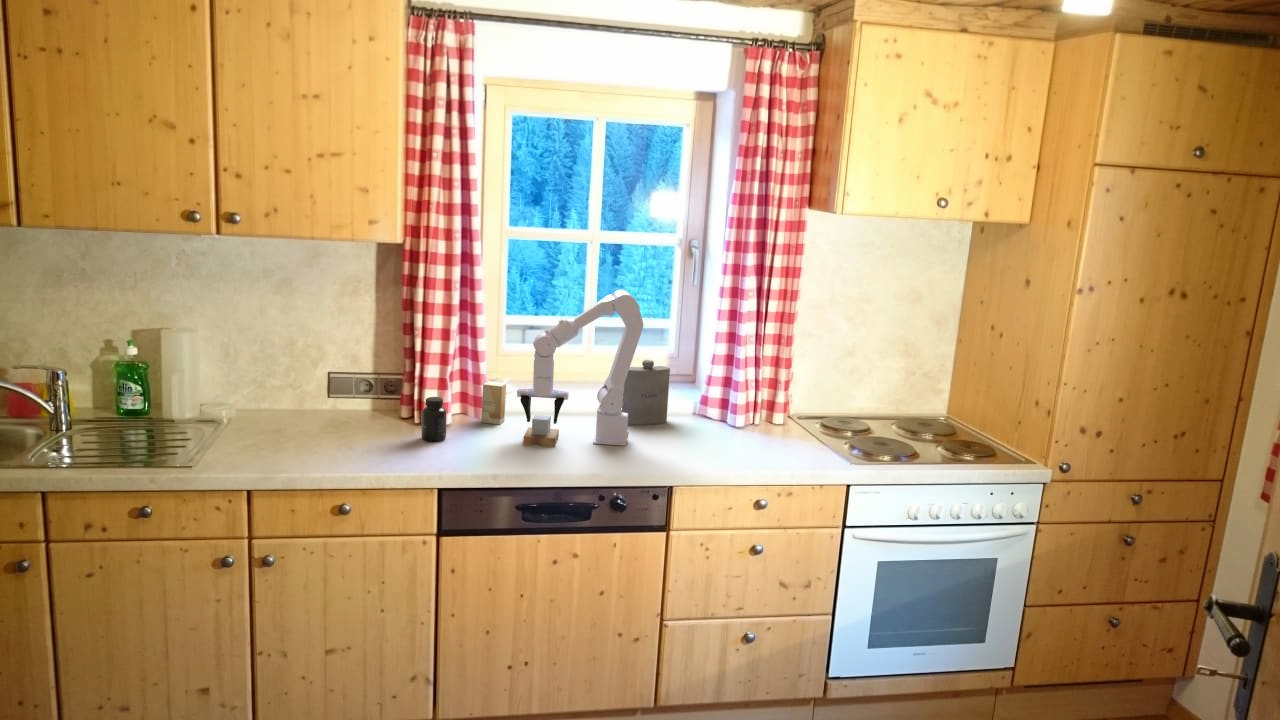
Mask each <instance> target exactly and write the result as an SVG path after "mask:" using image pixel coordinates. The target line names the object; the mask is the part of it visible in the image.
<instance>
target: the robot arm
mask: <svg viewBox="0 0 1280 720" xmlns="http://www.w3.org/2000/svg"><path fill="white" fill-rule="evenodd" d="M640 308H641V307H640V305H639V303H638V302H637V300H636V299H635V297H634V296H632V295H631V294H630V293H629V292H628V291H627V290H624V289H618V290H616V291H614V292H613V293H612V294H608V295H606V296H605V297H603V298H602V299H600V300H599V301H597V302H596V303H594V304H593V305H591V306H590V307H589V308H587V309H586V310H585V311H583V312H581V313H580V314H578V315H577V316H576V317H575V318H573V319H572V318H571V319H570V318H565V319H563V318H561V319H559V320H558V323H557V324H555V326H552V327H551V328H549V329H548V328H546V329H544V333H539V334H538V335H537V336H535V338H534V340H533V342H532V345H533V347H534V350H535V351H534V354H533V355H534V356H533V357H534V359H533V374H532V375H533V376H532V379H533V380H532V381H533V382H532V388H517V390H516V397H517V398H520V403H521V405H522V407H523V410H524V413H525V417H526V422H527V423H530V422H531V419H532V418H531V405H532V398H540V399H542V398H545V399H554V403H553V405H554V415H553V424H554V425H557V422H558V417H559V413H560V411H561V408H562V406H563V404H564V402H565V401H568V400H569V391H564V390H557V389H554V374H555V373H554V371H555V369H554V368H555V360H554V354H555V353H556V350H557V348H561V347H562V346H563V345H565V344H566V343H568V342H570V341H571V340H572V339H574V338H576V337H577V336H578V335H579V331H580V329H582V328H583V327H585V326H587V325H589V324H591V323H592V322H594V321H595V320H598V319H599V318H601V317H603V316H615V313H616V314H617V315H618V316H620V319H621V320H622V322H623V324H624V330H623V332H622V335H621V338H620V342H619V345H618V347H617V349H616V353H615V355H614V359H613V362H612V365H611V367H610V371H609V373H608V375H607V376H608V377H607V378H606V379H605V380H604V384H603V385H602V387H600V389H599V390H598V392H597V395H596V397H597V398H596V399H597V400H598V403H599V405H598V407H597V408H596V422H595V423H596V424H595V426H596V427H595V434H594V439H593V441H592V444H595V445H609V446H611V445H612V446H627V442H628V441H627V440H628V439H629V431H628V430H629V429H628V427H629V425H628V413H624V412H622V406H623V401H622V396H623V393H624V383H625V380H626V377H627V374H628V371H629V368H630V367H631V364H632V361H633V358H634V355H635V353H636V350H637V347H638V344H639V341H640V337H641V335H642V332H643V329H644V322H643V318H642V314H641V309H640Z"/></svg>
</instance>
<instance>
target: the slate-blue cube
mask: <svg viewBox="0 0 1280 720" xmlns="http://www.w3.org/2000/svg"><path fill="white" fill-rule="evenodd" d="M551 418H552V416H550V415H544V414H543V415H542V414H535V415H533V417H532V418H531V419H532V420H531V428H532V434H537V435H548V433H549V432H550V429H551V423H552V422H551V421H552V420H551Z"/></svg>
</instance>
